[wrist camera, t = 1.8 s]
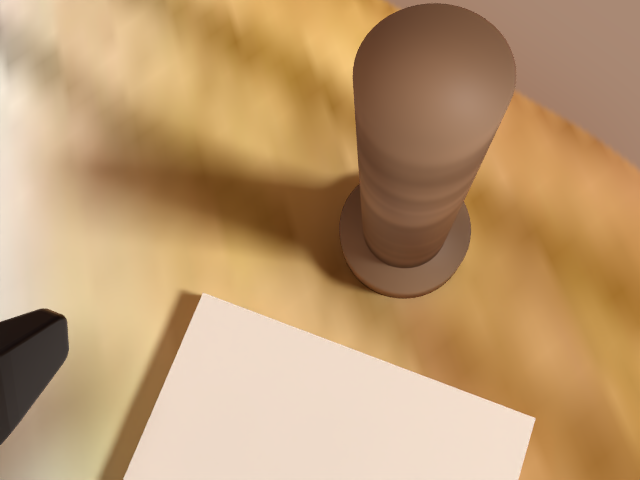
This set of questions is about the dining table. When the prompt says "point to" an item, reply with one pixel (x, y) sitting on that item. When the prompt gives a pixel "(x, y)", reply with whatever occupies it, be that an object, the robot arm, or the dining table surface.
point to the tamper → (421, 143)
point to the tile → (313, 412)
